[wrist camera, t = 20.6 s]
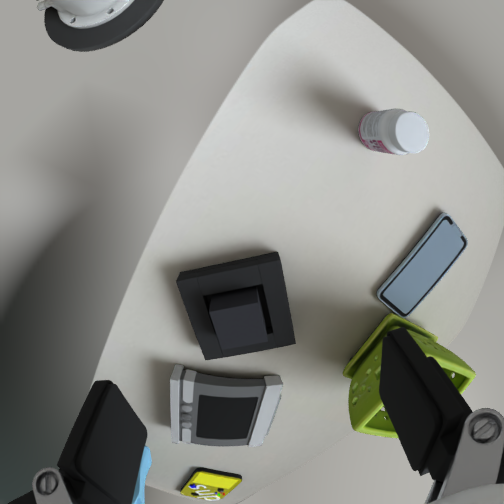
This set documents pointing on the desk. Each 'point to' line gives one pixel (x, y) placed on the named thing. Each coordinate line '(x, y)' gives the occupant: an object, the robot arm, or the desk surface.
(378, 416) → the flower pot
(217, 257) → the desk surface
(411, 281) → the smartphone
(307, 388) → the desk surface
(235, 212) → the desk surface
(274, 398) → the alarm clock
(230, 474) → the game console
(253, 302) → the dark grey square block
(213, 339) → the base pad
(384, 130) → the pill bottle
